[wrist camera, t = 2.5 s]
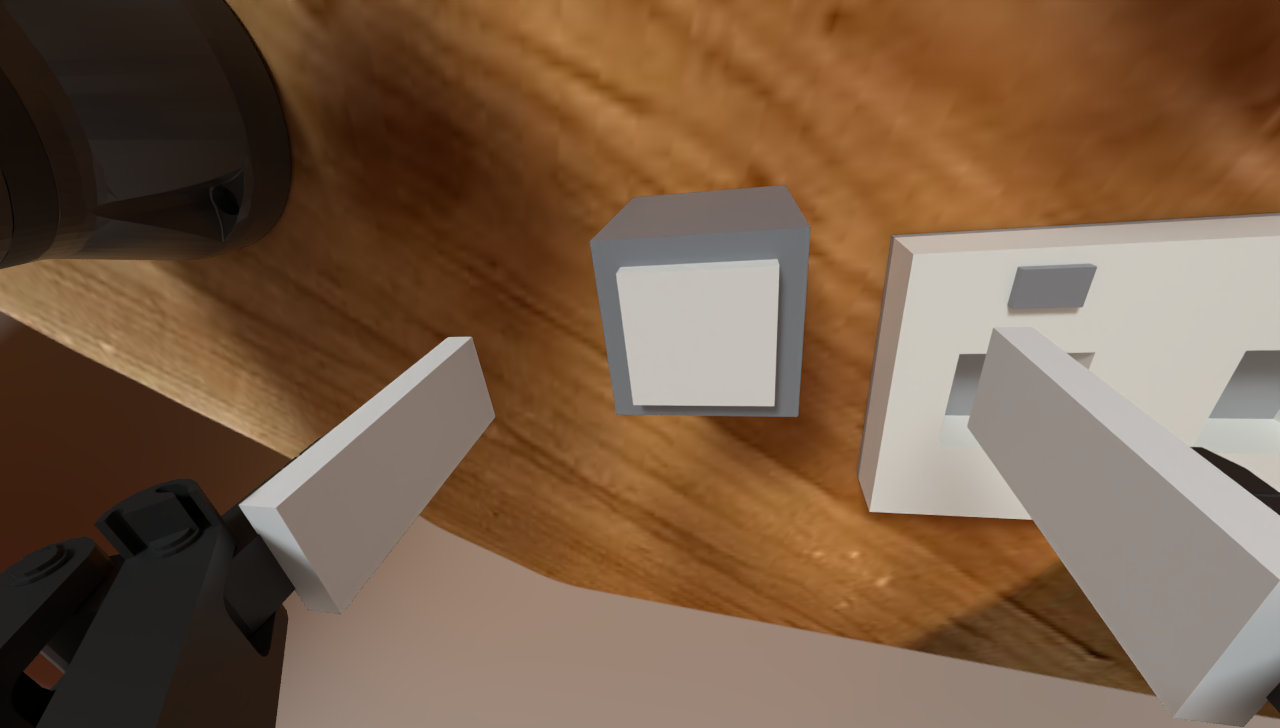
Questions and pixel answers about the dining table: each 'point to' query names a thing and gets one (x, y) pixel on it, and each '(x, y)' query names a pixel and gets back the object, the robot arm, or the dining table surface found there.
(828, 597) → the dining table surface
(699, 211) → the plug
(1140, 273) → the socket plate
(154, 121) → the robot arm
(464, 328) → the dining table surface
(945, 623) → the dining table surface
